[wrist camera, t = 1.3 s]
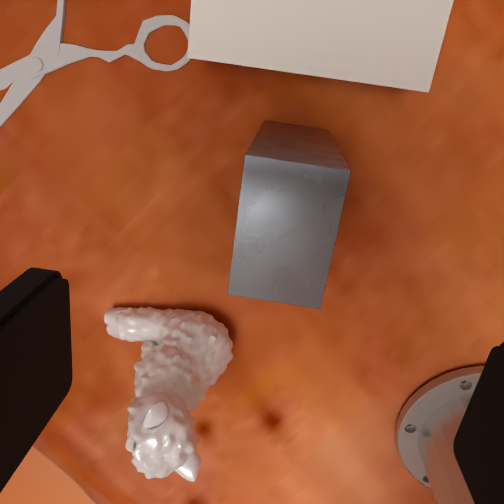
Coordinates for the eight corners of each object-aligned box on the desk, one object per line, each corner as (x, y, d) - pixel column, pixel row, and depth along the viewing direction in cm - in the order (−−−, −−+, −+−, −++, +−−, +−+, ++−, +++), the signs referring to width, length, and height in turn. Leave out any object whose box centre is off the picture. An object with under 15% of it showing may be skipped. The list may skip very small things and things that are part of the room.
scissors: (225, 34, 26) (-8, 208, 31) (226, 34, 27) (-1, 205, 32) (109, -156, 23) (-126, 72, 28) (115, -149, 24) (-116, 72, 29)
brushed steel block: (328, 129, 28) (350, 170, 17) (310, 220, 30) (320, 309, 19) (264, 120, 28) (245, 154, 17) (252, 211, 30) (227, 294, 19)
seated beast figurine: (104, 306, 34) (14, 420, 23) (204, 267, 32) (156, 371, 21) (163, 399, 37) (108, 539, 26) (258, 368, 35) (241, 506, 24)
